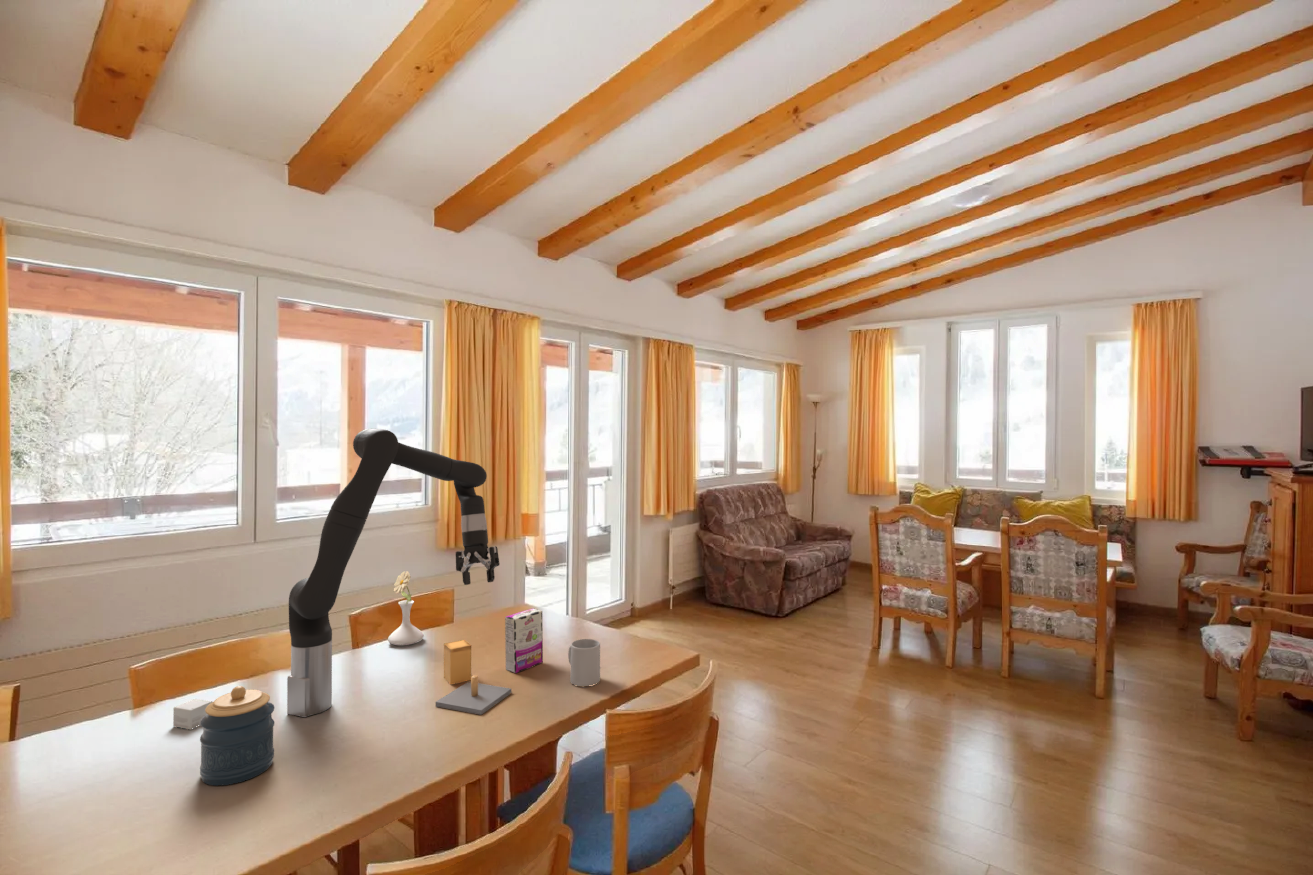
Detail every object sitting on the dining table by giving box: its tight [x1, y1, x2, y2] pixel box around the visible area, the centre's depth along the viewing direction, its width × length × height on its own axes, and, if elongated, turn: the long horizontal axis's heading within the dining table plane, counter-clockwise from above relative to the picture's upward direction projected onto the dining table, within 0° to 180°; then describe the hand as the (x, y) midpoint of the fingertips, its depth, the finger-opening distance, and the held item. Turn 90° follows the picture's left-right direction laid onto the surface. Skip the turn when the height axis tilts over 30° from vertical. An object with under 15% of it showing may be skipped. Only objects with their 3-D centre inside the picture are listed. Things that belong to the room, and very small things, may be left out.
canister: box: [199, 685, 275, 787], centre depth 130 cm, size 13×13×18 cm
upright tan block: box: [443, 639, 472, 685], centre depth 179 cm, size 6×6×10 cm
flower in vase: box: [387, 570, 425, 646], centre depth 208 cm, size 13×11×25 cm
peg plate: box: [435, 674, 513, 716], centre depth 165 cm, size 14×14×6 cm
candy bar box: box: [504, 608, 544, 674], centre depth 188 cm, size 11×5×16 cm, turn 143°
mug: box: [567, 638, 601, 687], centre depth 179 cm, size 12×8×11 cm
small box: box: [172, 698, 213, 730], centre depth 150 cm, size 6×6×5 cm
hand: (479, 583), depth 187 cm, fingers open, 8 cm apart
